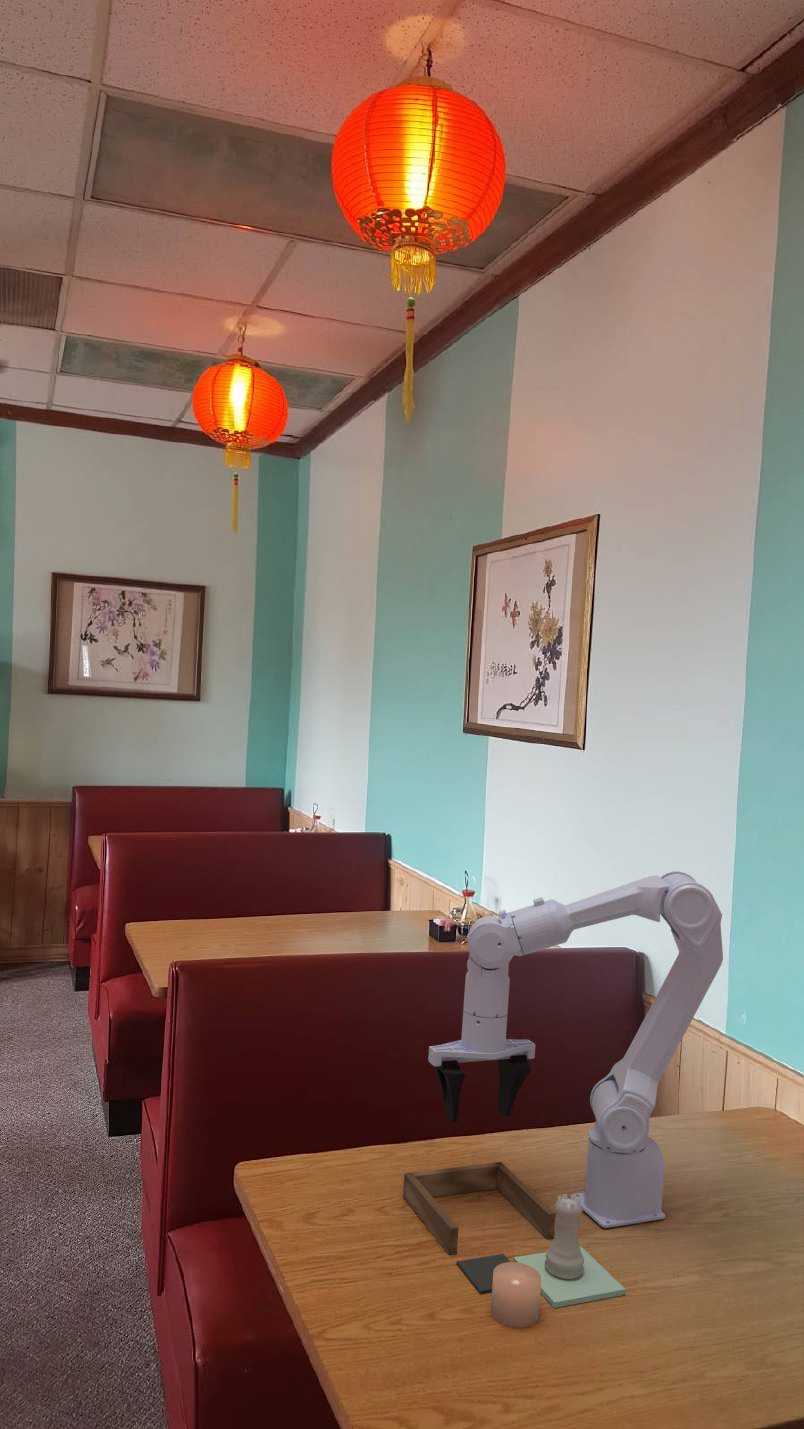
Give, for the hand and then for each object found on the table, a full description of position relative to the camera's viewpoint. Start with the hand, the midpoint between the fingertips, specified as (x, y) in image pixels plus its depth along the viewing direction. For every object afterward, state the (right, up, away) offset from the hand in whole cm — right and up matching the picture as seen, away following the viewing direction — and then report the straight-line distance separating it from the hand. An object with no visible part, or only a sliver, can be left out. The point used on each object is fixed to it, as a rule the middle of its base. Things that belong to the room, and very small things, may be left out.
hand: (478, 1115), depth 130 cm
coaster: (+9, -11, -18) cm, 23 cm away
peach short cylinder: (+2, -11, -25) cm, 27 cm away
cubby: (-1, -10, -5) cm, 12 cm away
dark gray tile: (0, -11, -18) cm, 21 cm away
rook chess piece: (+8, -11, -17) cm, 22 cm away
